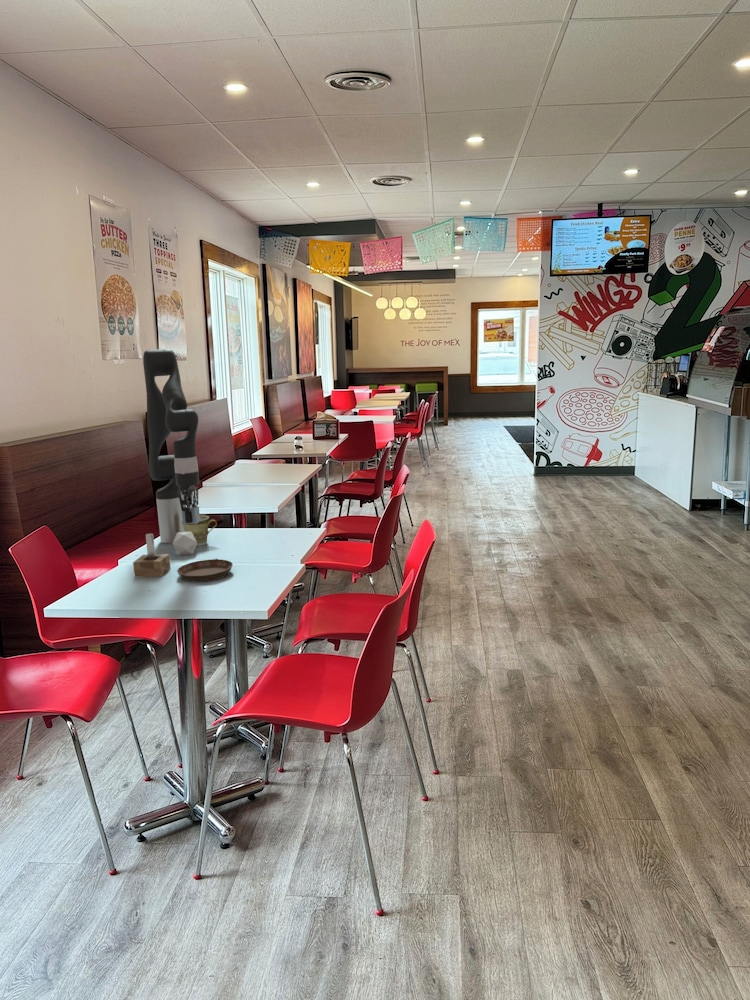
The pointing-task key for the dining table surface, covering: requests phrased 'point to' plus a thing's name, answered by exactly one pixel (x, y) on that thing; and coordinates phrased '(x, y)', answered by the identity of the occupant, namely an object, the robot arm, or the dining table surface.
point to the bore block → (151, 566)
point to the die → (184, 543)
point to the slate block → (194, 515)
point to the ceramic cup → (199, 529)
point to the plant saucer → (205, 570)
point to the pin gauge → (150, 547)
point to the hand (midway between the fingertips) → (191, 520)
